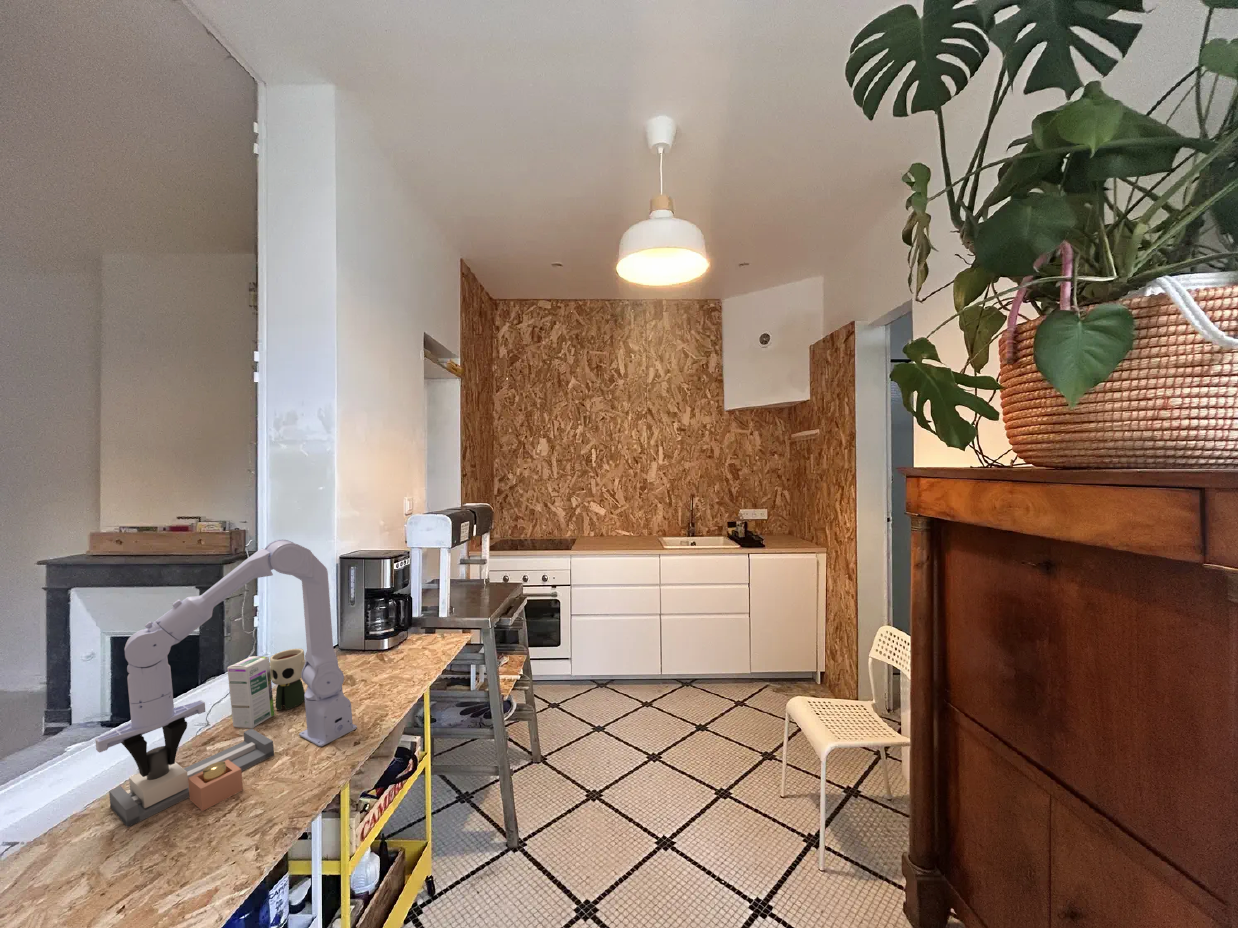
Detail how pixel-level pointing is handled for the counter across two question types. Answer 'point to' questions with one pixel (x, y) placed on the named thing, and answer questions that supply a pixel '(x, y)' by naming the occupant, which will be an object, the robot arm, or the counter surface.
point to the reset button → (214, 771)
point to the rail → (240, 754)
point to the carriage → (158, 778)
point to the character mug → (288, 677)
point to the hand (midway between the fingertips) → (157, 768)
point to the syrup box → (250, 691)
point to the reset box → (215, 787)
